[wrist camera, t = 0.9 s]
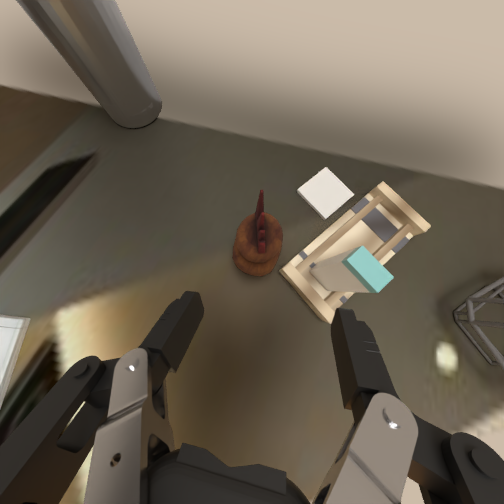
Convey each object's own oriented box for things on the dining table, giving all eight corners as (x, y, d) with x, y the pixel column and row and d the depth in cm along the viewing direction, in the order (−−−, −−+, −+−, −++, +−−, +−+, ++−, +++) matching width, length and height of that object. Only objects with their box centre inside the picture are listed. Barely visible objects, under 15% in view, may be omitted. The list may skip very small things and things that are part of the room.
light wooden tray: (278, 270, 27) (282, 268, 24) (369, 191, 29) (383, 181, 26) (321, 319, 25) (330, 323, 22) (412, 232, 28) (431, 226, 25)
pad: (296, 191, 29) (297, 189, 29) (324, 169, 30) (325, 166, 30) (324, 220, 28) (325, 218, 28) (352, 196, 29) (354, 194, 29)
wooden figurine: (245, 228, 28) (240, 162, 13) (280, 240, 28) (316, 185, 13) (230, 270, 27) (206, 247, 12) (267, 282, 26) (289, 275, 12)
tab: (309, 270, 25) (346, 259, 15) (319, 261, 26) (362, 245, 16) (327, 290, 25) (378, 292, 15) (337, 281, 25) (393, 277, 15)
